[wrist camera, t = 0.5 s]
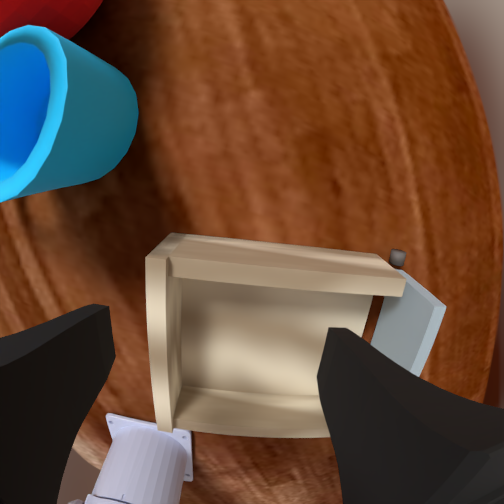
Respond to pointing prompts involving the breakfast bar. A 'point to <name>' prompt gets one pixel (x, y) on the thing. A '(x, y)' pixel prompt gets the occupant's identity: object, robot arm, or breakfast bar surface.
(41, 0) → the tomato
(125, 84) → the mug
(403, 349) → the panel
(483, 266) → the breakfast bar surface
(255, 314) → the box
